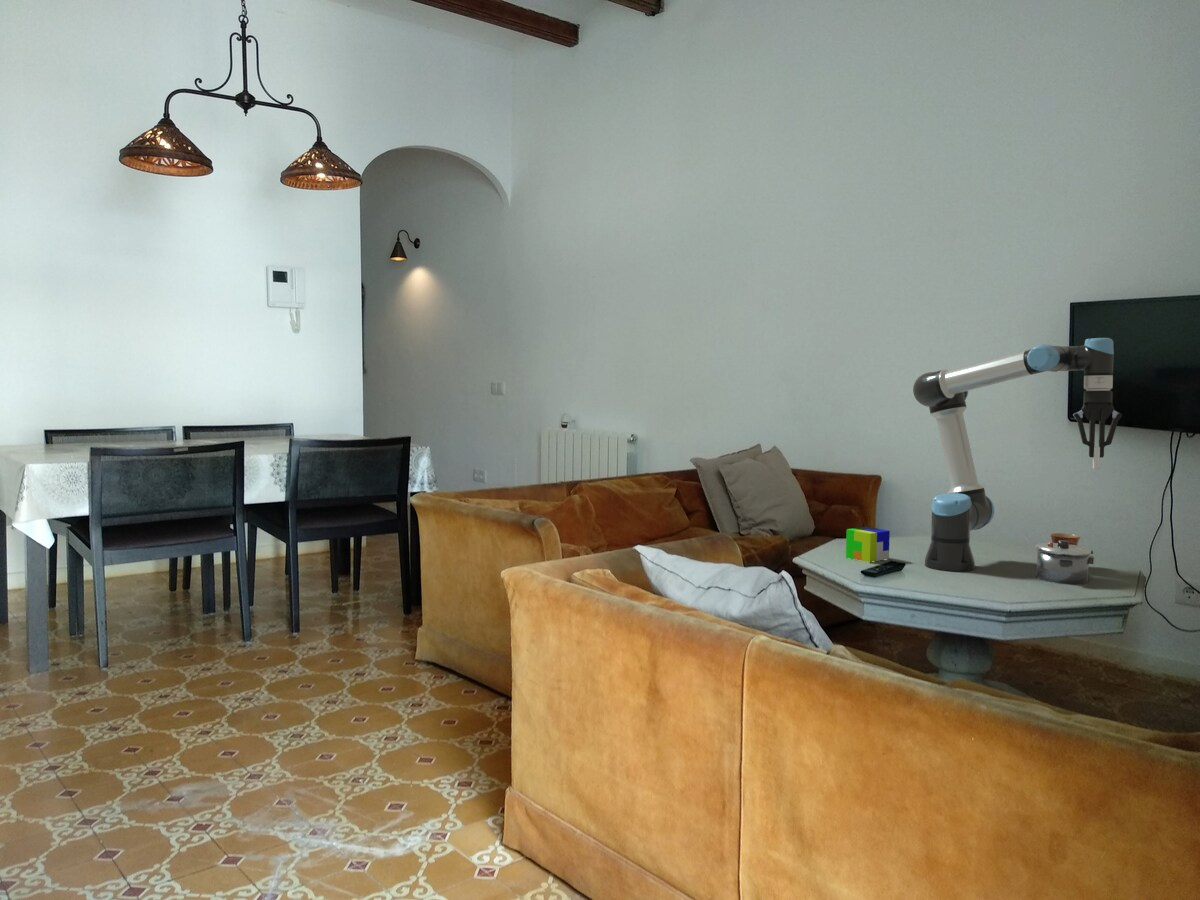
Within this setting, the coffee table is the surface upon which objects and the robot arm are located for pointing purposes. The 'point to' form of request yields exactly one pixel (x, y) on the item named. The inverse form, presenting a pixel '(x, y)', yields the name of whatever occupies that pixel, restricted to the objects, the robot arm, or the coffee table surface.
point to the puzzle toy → (867, 544)
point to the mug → (1065, 538)
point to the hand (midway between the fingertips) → (1096, 468)
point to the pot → (1063, 568)
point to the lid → (1063, 548)
